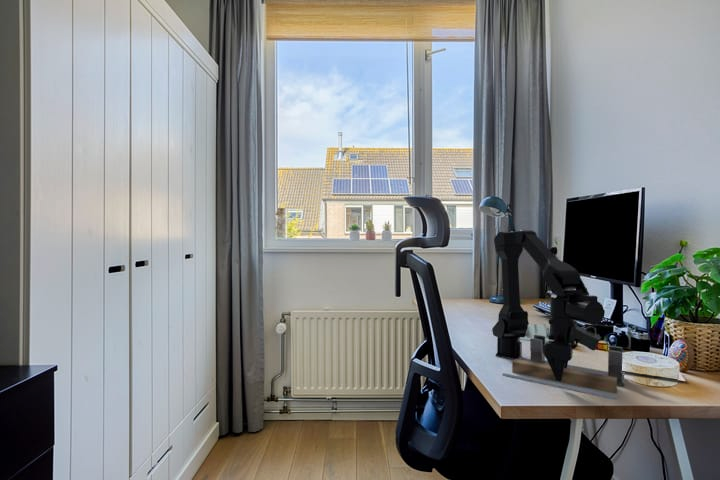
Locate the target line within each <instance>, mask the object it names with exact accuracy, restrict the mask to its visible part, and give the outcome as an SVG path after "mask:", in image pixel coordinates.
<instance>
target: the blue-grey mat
mask: <svg viewBox="0 0 720 480" xmlns="http://www.w3.org/2000/svg"><path fill="white" fill-rule="evenodd" d="M502 376H506V377H511V378H514V379H519V380H524V381H528V382H534V383H539V384H543V385H547V386H552V387H556V388H557V387H558V388H561V389H562V388H563V389H567V390H572V391H576V392H581V393H585V394H586V393H587V394H590V395H595V396H598V397H599V396H601V397H603V398H608V399H612V400H613V399H615V400H617V393H616V394H615V393H610V392H605V391H600V390H596V389H591V388H586V387H581V386H576V385H571V384H566V383H561V382H557V381H552V380H547V379H542V378H537V377H532V376H527V375H522V374H518V373H513V372H512V365H508V366H507V367H506V369H505V370H504V371H503V372H502Z"/></svg>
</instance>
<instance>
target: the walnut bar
mask: <svg viewBox="0 0 720 480" xmlns="http://www.w3.org/2000/svg"><path fill="white" fill-rule="evenodd" d="M530 361H531V360H530ZM530 361H529V360H524V359H519V358H518V359H512V362H511V364H512V365H511V366H512V372H513V373H518V374H522V375H527V376H532V377H537V378H542V379H547V380H552V381H557V380H556V379H555V376H554V374H553V372H552V369H551V367H550V365H546V364H541V363H535V362H530ZM557 382H561V383H566V384H571V385H576V386H581V387H586V388H591V389H596V390H600V391H605V392H610V393H615V394H616V395H617V391H618V389H617V387H618V386H617V378H616V377H611V376H606V375H600V374H595V373H589V372H584V371H579V370H573V369H568V368H564V371H563V375H562V379H561V381H557Z"/></svg>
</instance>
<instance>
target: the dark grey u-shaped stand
mask: <svg viewBox="0 0 720 480" xmlns="http://www.w3.org/2000/svg"><path fill="white" fill-rule="evenodd" d="M529 343H530V345H529V346H530V350H529V351H530V362H535V363H541V364H546V365H549V363H548V361H547V360H546V357H545V356H544V354H543V346H544V344H545V343H546V342H545V336H541V335H534V339H533V338H531V339H530V341H529ZM623 349H624V348H623V347H622V346H617V345H616V346H615V345H608V351H607V352H608V356H607V358H608V360H607V371H605V370H600V369H595V368H589V367H583V366H579V365H571V364H568V365H567V368H568V369H573V370H579V371H584V372H589V373H595V374H600V375H606V376H611V377H616V378H617V387H625V374H623V372H622V364H623Z"/></svg>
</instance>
